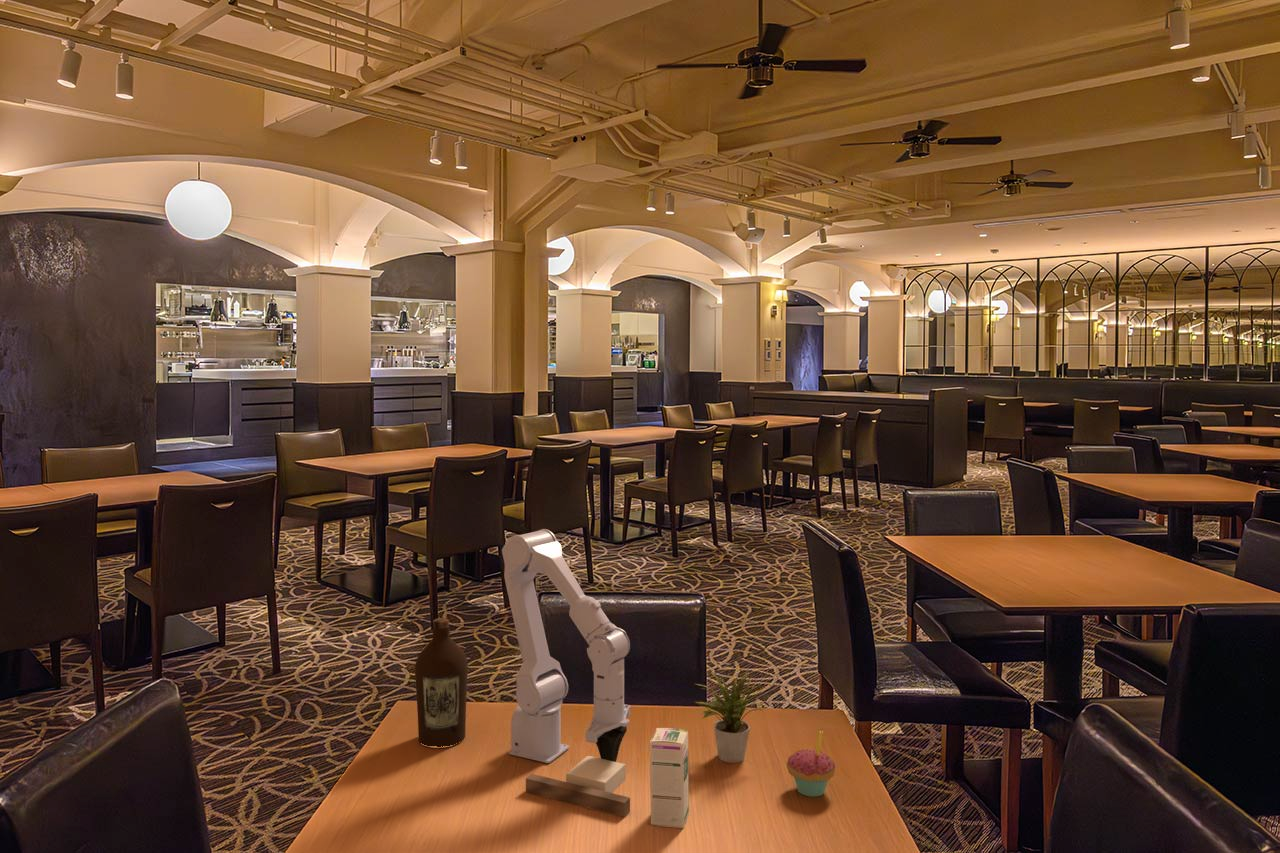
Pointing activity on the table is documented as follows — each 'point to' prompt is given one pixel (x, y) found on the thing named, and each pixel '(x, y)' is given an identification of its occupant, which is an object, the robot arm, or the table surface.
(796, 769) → the cupcake
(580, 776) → the wooden block
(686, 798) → the syrup box
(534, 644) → the robot arm
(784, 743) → the table surface
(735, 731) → the house plant
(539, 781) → the stop rail
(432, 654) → the olive oil
